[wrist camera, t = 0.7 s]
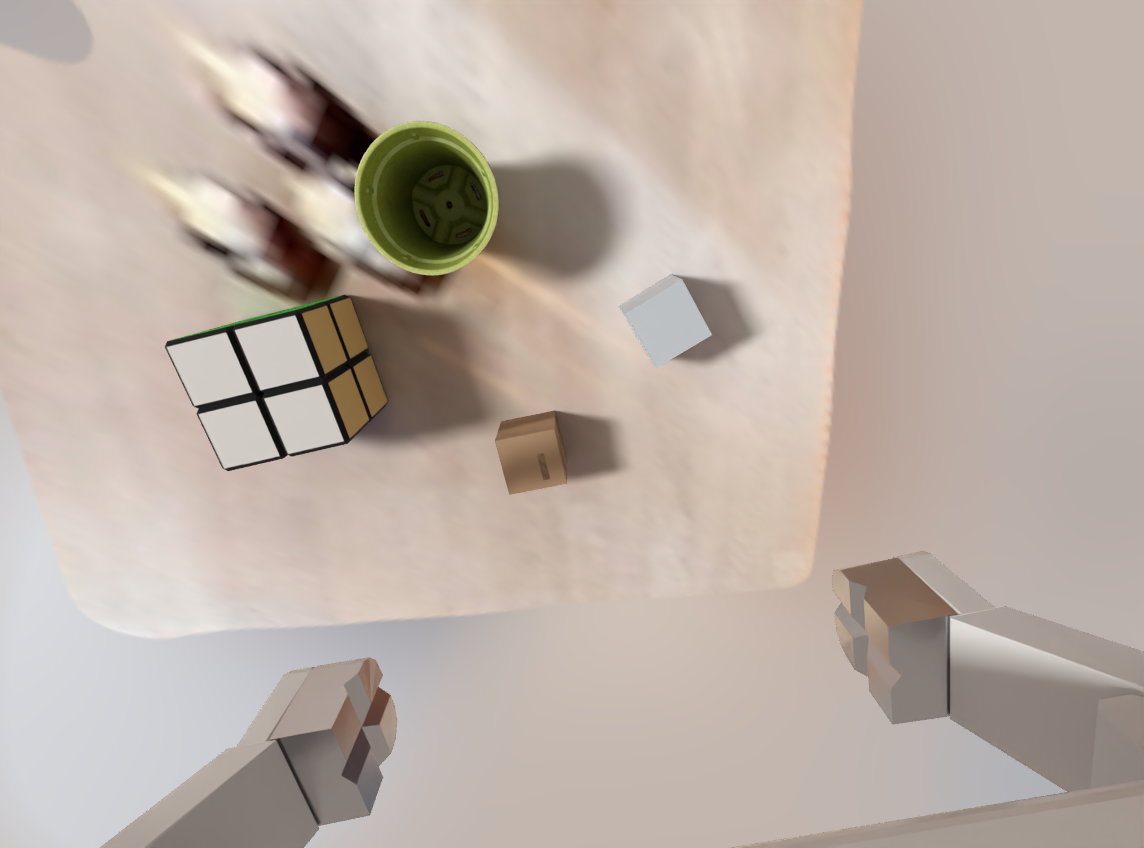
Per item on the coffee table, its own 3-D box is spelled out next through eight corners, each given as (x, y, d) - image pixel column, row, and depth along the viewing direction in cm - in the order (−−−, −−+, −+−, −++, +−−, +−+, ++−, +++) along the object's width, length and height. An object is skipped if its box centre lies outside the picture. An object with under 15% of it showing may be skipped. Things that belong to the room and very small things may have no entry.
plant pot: (530, 233, 46) (523, 234, 38) (431, 287, 47) (403, 298, 39) (473, 118, 43) (451, 92, 35) (369, 178, 44) (325, 166, 36)
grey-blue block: (618, 305, 48) (624, 314, 43) (670, 274, 47) (682, 278, 42) (647, 355, 49) (656, 368, 45) (697, 324, 48) (712, 335, 44)
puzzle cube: (285, 428, 51) (221, 474, 41) (238, 321, 48) (158, 343, 38) (390, 404, 50) (350, 444, 41) (350, 293, 47) (297, 308, 38)
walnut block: (501, 421, 51) (495, 441, 46) (554, 410, 51) (554, 429, 46) (514, 470, 53) (509, 494, 48) (566, 460, 52) (566, 483, 48)
